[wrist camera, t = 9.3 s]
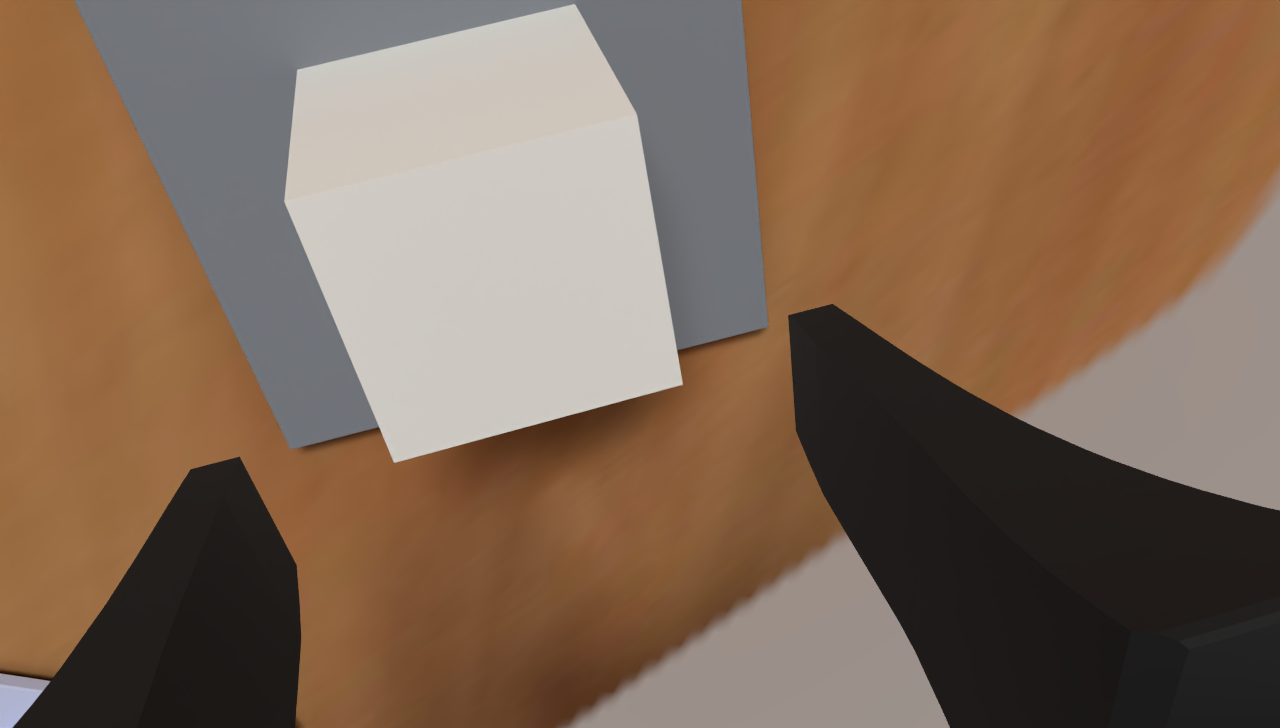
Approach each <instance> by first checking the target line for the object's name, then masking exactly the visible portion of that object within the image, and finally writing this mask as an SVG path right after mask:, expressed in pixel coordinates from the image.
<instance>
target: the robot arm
mask: <svg viewBox="0 0 1280 728" xmlns="http://www.w3.org/2000/svg"><path fill="white" fill-rule="evenodd" d="M788 318H789V333H790V347H791V362H792V377H793V392H794V407H795V421H796V432H797V434H798V437H799V439H800V441H801V444H802V446H803V449H804V451H805V453H806V456H807V458H808V460H809V463H810V465H811V468H812V470H813V472H814V474H815V477H816V479H817V481H818V483H819V486H820V488H821V490H822V492H823V494H824V496H825V498H826V500H827V501H828V503H829V505H830V506H831V508H832V510H833V512H834V513H835V515H836V517H837V518H838V520H839V522H840V523H841V525H842V527H843V529H844V530H845V532H846V534H847V535H848V537H849V539H850V540H851V542H852V543H853V545H854V547H855V549H856V550H857V552H858V554H859V555H860V557H861V559H862V560H863V562H864V564H865V565H866V567H867V569H868V570H869V572H870V574H871V575H872V577H873V579H874V580H875V582H876V584H877V585H878V587H879V589H880V590H881V592H882V594H883V596H884V597H885V599H886V601H887V602H888V604H889V605H890V607H891V609H892V611H893V612H894V614H895V616H896V617H897V619H898V621H899V622H900V624H901V626H902V628H903V630H904V631H905V633H906V635H907V637H908V639H909V641H910V643H911V644H912V646H913V648H914V650H915V652H916V654H917V656H918V658H919V661H920V663H921V665H922V667H923V669H924V672H925V674H926V676H927V678H928V680H929V682H930V685H931V687H932V689H933V691H934V693H935V695H936V697H937V699H938V702H939V704H940V706H941V708H942V710H943V713H944V715H945V717H946V719H947V721H948V724H949V726H950V728H1280V511H1279V510H1274V509H1270V508H1266V507H1261V506H1258V505H1254V504H1250V503H1246V502H1242V501H1239V500H1235V499H1232V498H1228V497H1224V496H1221V495H1217V494H1214V493H1210V492H1206V491H1202V490H1199V489H1196V488H1192V487H1189V486H1186V485H1183V484H1180V483H1177V482H1173V481H1170V480H1167V479H1164V478H1161V477H1158V476H1155V475H1153V474H1150V473H1147V472H1144V471H1141V470H1139V469H1136V468H1133V467H1130V466H1127V465H1125V464H1121V463H1119V462H1116V461H1113V460H1111V459H1108V458H1106V457H1103V456H1101V455H1098V454H1096V453H1093V452H1090V451H1088V450H1085V449H1083V448H1081V447H1079V446H1076V445H1074V444H1072V443H1069V442H1067V441H1065V440H1062V439H1061V438H1058V437H1056V436H1054V435H1051V434H1049V433H1047V432H1045V431H1043V430H1040V429H1038V428H1036V427H1034V426H1032V425H1029V424H1028V423H1026V422H1024V421H1021V420H1019V419H1017V418H1015V417H1014V416H1012V415H1010V414H1008V413H1006V412H1004V411H1002V410H1000V409H999V408H997V407H995V406H993V405H991V404H989V403H987V402H986V401H984V400H982V399H980V398H978V397H976V396H974V395H973V394H971V393H969V392H967V391H966V390H964V389H962V388H961V387H959V386H957V385H955V384H954V383H952V382H950V381H949V380H947V379H946V378H944V377H942V376H941V375H939V374H938V373H936V372H934V371H933V370H931V369H929V368H928V367H926V366H925V365H923V364H921V363H920V362H918V361H917V360H915V359H914V358H912V357H911V356H909V355H908V354H906V353H905V352H903V351H902V350H900V349H899V348H897V347H896V346H894V345H893V344H891V343H890V342H888V341H887V340H885V339H884V338H882V337H881V336H879V335H878V334H876V333H875V332H873V331H872V330H870V329H869V328H867V327H866V326H864V325H863V324H862V323H860V322H859V321H857V320H856V319H854V318H853V317H851V316H850V315H848V314H847V313H845V312H844V311H842V310H841V309H839V308H838V307H836V306H835V305H833V304H831V305H827V306H823V307H819V308H815V309H811V310H807V311H803V312H800V313H796V314H792V315H788ZM300 648H301V624H300V604H299V591H298V578H297V565H296V563H295V561H294V559H293V557H292V556H291V554H290V552H289V550H288V548H287V546H286V544H285V542H284V540H283V538H282V537H281V535H280V533H279V531H278V529H277V527H276V525H275V523H274V521H273V519H272V518H271V516H270V514H269V512H268V510H267V508H266V506H265V504H264V502H263V500H262V499H261V497H260V495H259V493H258V491H257V489H256V487H255V485H254V483H253V481H252V480H251V478H250V476H249V474H248V472H247V470H246V468H245V466H244V464H243V462H242V461H241V459H240V457H237V458H233V459H229V460H225V461H221V462H218V463H214V464H210V465H206V466H202V467H198V468H194V469H191V470H190V471H189V473H188V475H187V476H186V478H185V479H184V481H183V482H182V484H181V486H180V487H179V489H178V490H177V492H176V493H175V495H174V497H173V498H172V500H171V502H170V503H169V505H168V506H167V508H166V510H165V511H164V513H163V514H162V516H161V518H160V519H159V521H158V523H157V524H156V526H155V528H154V529H153V531H152V532H151V534H150V536H149V537H148V539H147V541H146V542H145V544H144V545H143V547H142V549H141V550H140V552H139V554H138V555H137V557H136V558H135V560H134V562H133V563H132V565H131V566H130V568H129V569H128V571H127V572H126V574H125V575H124V577H123V579H122V580H121V582H120V583H119V585H118V586H117V588H116V589H115V591H114V593H113V594H112V596H111V597H110V599H109V600H108V602H107V603H106V605H105V606H104V608H103V609H102V611H101V612H100V613H99V615H98V616H97V618H96V619H95V620H94V622H93V623H92V625H91V626H90V628H89V629H88V630H87V632H86V633H85V635H84V636H83V637H82V639H81V640H80V642H79V643H78V644H77V646H76V647H75V649H74V650H73V651H72V653H71V654H70V656H69V657H68V659H67V660H66V661H65V663H64V664H63V666H62V667H61V668H60V670H59V671H58V672H57V673H56V675H55V676H54V677H53V679H52V680H51V681H48V680H41V679H35V678H28V677H22V676H15V675H8V674H2V673H0V728H295V717H296V704H297V691H298V677H299V663H300Z"/></svg>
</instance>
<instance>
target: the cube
mask: <svg viewBox="0 0 1280 728" xmlns="http://www.w3.org/2000/svg"><path fill="white" fill-rule="evenodd" d="M284 202H285V205H286V207H287V209H288V212H289V214H290V216H291V219H292V221H293V224H294V226H295V228H296V231H297V233H298V235H299V238H300V240H301V243H302V245H303V247H304V250H305V252H306V254H307V257H308V259H309V262H310V264H311V266H312V269H313V271H314V273H315V276H316V278H317V281H318V283H319V285H320V288H321V290H322V292H323V295H324V297H325V300H326V302H327V304H328V307H329V309H330V311H331V314H332V316H333V319H334V321H335V323H336V326H337V328H338V330H339V333H340V335H341V338H342V340H343V342H344V345H345V347H346V349H347V352H348V354H349V357H350V359H351V361H352V364H353V366H354V368H355V371H356V373H357V376H358V378H359V380H360V383H361V385H362V387H363V390H364V392H365V395H366V397H367V399H368V402H369V404H370V406H371V409H372V411H373V414H374V416H375V418H376V421H377V423H378V425H379V428H380V430H381V433H382V435H383V437H384V440H385V442H386V444H387V447H388V449H389V452H390V454H391V456H392V459H393V461H394V463H395V462H399V461H403V460H406V459H410V458H414V457H417V456H421V455H425V454H428V453H432V452H436V451H440V450H443V449H447V448H451V447H454V446H458V445H462V444H465V443H469V442H473V441H476V440H480V439H484V438H488V437H491V436H495V435H499V434H502V433H506V432H510V431H513V430H517V429H521V428H524V427H528V426H532V425H536V424H539V423H543V422H547V421H550V420H554V419H558V418H561V417H565V416H569V415H572V414H576V413H580V412H584V411H587V410H591V409H595V408H598V407H602V406H606V405H609V404H613V403H617V402H620V401H624V400H628V399H632V398H635V397H639V396H643V395H646V394H650V393H654V392H657V391H661V390H665V389H668V388H672V387H676V386H680V385H683V383H682V377H681V371H680V365H679V359H678V354H677V348H676V342H675V336H674V330H673V324H672V318H671V312H670V306H669V300H668V294H667V289H666V283H665V277H664V271H663V265H662V259H661V253H660V247H659V241H658V235H657V229H656V224H655V218H654V212H653V206H652V200H651V194H650V188H649V182H648V176H647V170H646V164H645V159H644V153H643V147H642V141H641V135H640V129H639V123H638V117H637V113H636V112H635V110H634V108H633V106H632V105H631V103H630V101H629V99H628V97H627V96H626V94H625V92H624V90H623V88H622V87H621V85H620V83H619V81H618V80H617V78H616V76H615V74H614V72H613V71H612V69H611V67H610V65H609V64H608V62H607V60H606V58H605V56H604V55H603V53H602V51H601V49H600V48H599V46H598V44H597V42H596V40H595V39H594V37H593V35H592V33H591V31H590V30H589V28H588V26H587V24H586V23H585V21H584V19H583V17H582V15H581V14H580V12H579V10H578V8H577V7H576V5H575V4H573V5H569V6H564V7H560V8H556V9H552V10H548V11H543V12H539V13H535V14H531V15H526V16H522V17H518V18H514V19H510V20H505V21H501V22H497V23H493V24H489V25H484V26H480V27H476V28H472V29H467V30H463V31H459V32H455V33H451V34H446V35H442V36H438V37H434V38H429V39H425V40H421V41H417V42H413V43H408V44H404V45H400V46H396V47H392V48H387V49H383V50H379V51H375V52H370V53H366V54H362V55H358V56H354V57H349V58H345V59H341V60H337V61H332V62H328V63H324V64H320V65H316V66H311V67H307V68H303V69H299V70H297V77H296V87H295V98H294V108H293V118H292V128H291V138H290V148H289V159H288V169H287V179H286V189H285V199H284Z"/></svg>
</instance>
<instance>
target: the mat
mask: <svg viewBox="0 0 1280 728" xmlns="http://www.w3.org/2000/svg"><path fill="white" fill-rule="evenodd" d="M74 1H75V3H76V5H77V7H78V9H79V11H80V13H81V16H82V18H83V20H84V22H85V24H86V26H87V28H88V30H89V32H90V34H91V36H92V38H93V40H94V43H95V45H96V47H97V49H98V51H99V53H100V55H101V57H102V59H103V61H104V63H105V65H106V67H107V69H108V72H109V74H110V76H111V78H112V80H113V82H114V84H115V86H116V88H117V90H118V92H119V94H120V96H121V98H122V101H123V103H124V105H125V107H126V109H127V111H128V113H129V115H130V117H131V119H132V121H133V123H134V125H135V128H136V130H137V132H138V134H139V136H140V138H141V140H142V142H143V144H144V146H145V148H146V150H147V152H148V154H149V157H150V159H151V161H152V163H153V165H154V167H155V169H156V171H157V173H158V175H159V177H160V179H161V181H162V184H163V186H164V188H165V190H166V192H167V194H168V196H169V198H170V200H171V202H172V204H173V206H174V208H175V210H176V213H177V215H178V217H179V219H180V221H181V223H182V225H183V227H184V229H185V231H186V233H187V235H188V237H189V240H190V242H191V244H192V246H193V248H194V250H195V252H196V254H197V256H198V258H199V260H200V262H201V264H202V266H203V269H204V271H205V273H206V275H207V277H208V279H209V281H210V283H211V285H212V287H213V289H214V291H215V293H216V295H217V298H218V300H219V302H220V304H221V306H222V308H223V310H224V312H225V314H226V316H227V318H228V320H229V322H230V325H231V327H232V329H233V331H234V333H235V335H236V337H237V339H238V341H239V343H240V345H241V347H242V349H243V351H244V354H245V356H246V358H247V360H248V362H249V364H250V366H251V368H252V370H253V372H254V374H255V376H256V378H257V381H258V383H259V385H260V387H261V389H262V391H263V393H264V395H265V397H266V399H267V401H268V403H269V405H270V407H271V410H272V412H273V414H274V416H275V418H276V420H277V422H278V424H279V426H280V428H281V430H282V432H283V434H284V437H285V439H286V441H287V443H288V445H289V447H290V449H295V448H299V447H303V446H307V445H311V444H315V443H319V442H323V441H326V440H330V439H334V438H338V437H342V436H346V435H350V434H354V433H358V432H361V431H365V430H369V429H373V428H377V427H379V425H378V423H377V421H376V418H375V416H374V414H373V411H372V409H371V406H370V404H369V402H368V399H367V397H366V395H365V392H364V390H363V387H362V385H361V383H360V380H359V378H358V376H357V373H356V371H355V368H354V366H353V364H352V361H351V359H350V357H349V354H348V352H347V349H346V347H345V345H344V342H343V340H342V338H341V335H340V333H339V330H338V328H337V326H336V323H335V321H334V319H333V316H332V314H331V311H330V309H329V307H328V304H327V302H326V300H325V297H324V295H323V292H322V290H321V288H320V285H319V283H318V281H317V278H316V276H315V273H314V271H313V269H312V266H311V264H310V262H309V259H308V257H307V254H306V252H305V250H304V247H303V245H302V243H301V240H300V238H299V235H298V233H297V231H296V228H295V226H294V224H293V221H292V219H291V216H290V214H289V212H288V209H287V207H286V205H285V202H284V199H285V189H286V179H287V169H288V159H289V148H290V138H291V128H292V118H293V108H294V98H295V87H296V77H297V70H299V69H303V68H307V67H311V66H316V65H320V64H324V63H328V62H332V61H337V60H341V59H345V58H349V57H354V56H358V55H362V54H366V53H370V52H375V51H379V50H383V49H387V48H392V47H396V46H400V45H404V44H408V43H413V42H417V41H421V40H425V39H429V38H434V37H438V36H442V35H446V34H451V33H455V32H459V31H463V30H467V29H472V28H476V27H480V26H484V25H489V24H493V23H497V22H501V21H505V20H510V19H514V18H518V17H522V16H526V15H531V14H535V13H539V12H543V11H548V10H552V9H556V8H560V7H564V6H569V5H573V4H575V5H576V7H577V8H578V10H579V12H580V14H581V15H582V17H583V19H584V21H585V23H586V24H587V26H588V28H589V30H590V31H591V33H592V35H593V37H594V39H595V40H596V42H597V44H598V46H599V48H600V49H601V51H602V53H603V55H604V56H605V58H606V60H607V62H608V64H609V65H610V67H611V69H612V71H613V72H614V74H615V76H616V78H617V80H618V81H619V83H620V85H621V87H622V88H623V90H624V92H625V94H626V96H627V97H628V99H629V101H630V103H631V105H632V106H633V108H634V110H635V112H636V113H637V117H638V123H639V129H640V135H641V141H642V147H643V153H644V159H645V164H646V170H647V176H648V182H649V188H650V194H651V200H652V206H653V212H654V218H655V224H656V229H657V235H658V241H659V247H660V253H661V259H662V265H663V271H664V277H665V283H666V289H667V294H668V300H669V306H670V312H671V318H672V324H673V330H674V336H675V342H676V348H677V350H680V349H684V348H688V347H692V346H696V345H700V344H704V343H708V342H711V341H715V340H719V339H723V338H727V337H731V336H735V335H739V334H743V333H746V332H750V331H754V330H758V329H762V328H766V327H768V318H767V306H766V294H765V281H764V269H763V257H762V245H761V233H760V221H759V209H758V197H757V184H756V172H755V160H754V148H753V136H752V124H751V112H750V100H749V87H748V75H747V63H746V51H745V39H744V27H743V15H742V3H741V0H74Z"/></svg>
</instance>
